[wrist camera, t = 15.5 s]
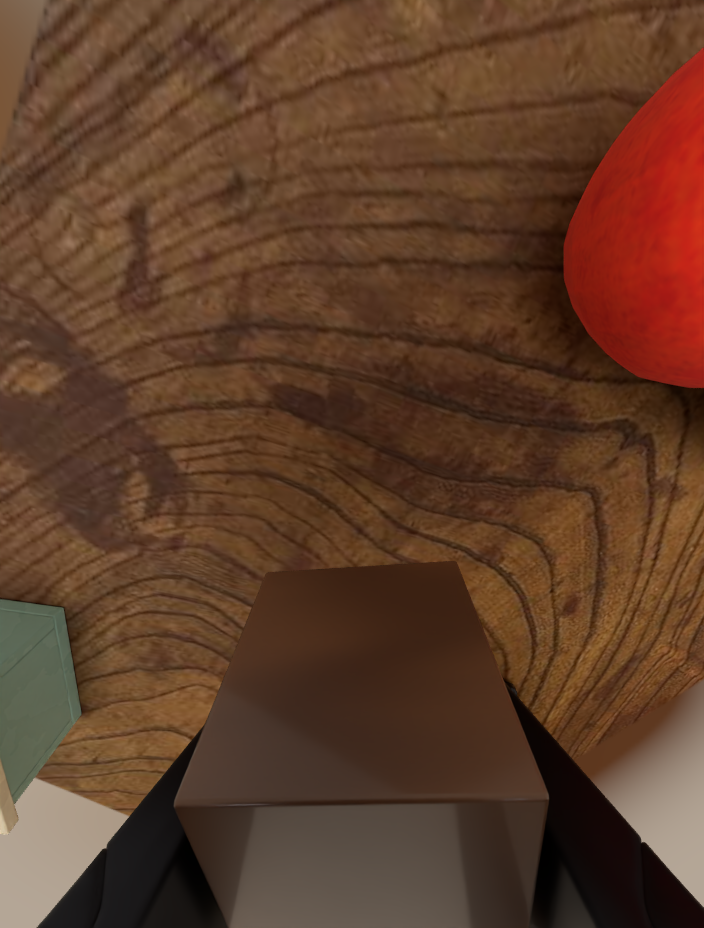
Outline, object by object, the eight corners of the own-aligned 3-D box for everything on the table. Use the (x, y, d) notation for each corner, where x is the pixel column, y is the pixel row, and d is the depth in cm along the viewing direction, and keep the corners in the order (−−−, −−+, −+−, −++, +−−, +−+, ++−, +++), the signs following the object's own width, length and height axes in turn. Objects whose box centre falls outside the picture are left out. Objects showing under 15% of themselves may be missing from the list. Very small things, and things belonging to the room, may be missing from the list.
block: (456, 559, 8) (552, 797, 4) (456, 697, 10) (525, 973, 5) (265, 571, 8) (169, 806, 4) (294, 703, 10) (243, 970, 6)
